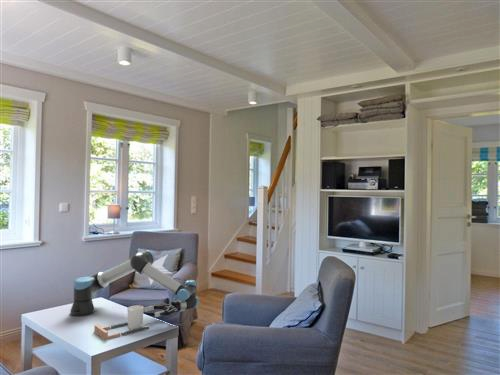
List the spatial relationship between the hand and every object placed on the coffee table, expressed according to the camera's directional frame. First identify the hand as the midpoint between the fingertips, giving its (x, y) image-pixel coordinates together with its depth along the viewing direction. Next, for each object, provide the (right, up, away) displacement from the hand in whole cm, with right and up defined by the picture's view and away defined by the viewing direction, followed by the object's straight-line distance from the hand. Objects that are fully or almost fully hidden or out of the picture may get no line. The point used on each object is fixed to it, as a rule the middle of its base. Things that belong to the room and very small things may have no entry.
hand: (149, 312), depth 238 cm
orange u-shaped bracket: (-20, -6, -19) cm, 28 cm away
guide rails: (-10, -7, -9) cm, 15 cm away
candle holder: (-7, -7, -7) cm, 12 cm away
